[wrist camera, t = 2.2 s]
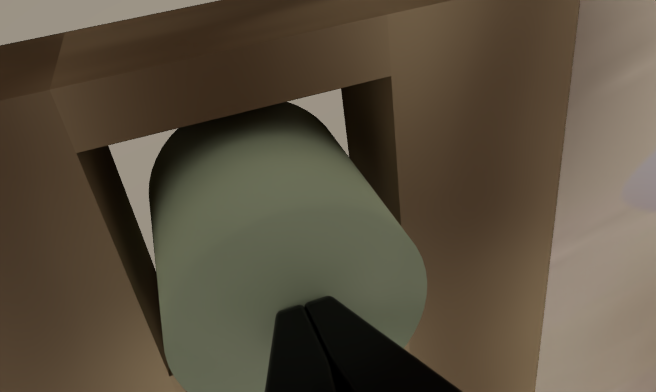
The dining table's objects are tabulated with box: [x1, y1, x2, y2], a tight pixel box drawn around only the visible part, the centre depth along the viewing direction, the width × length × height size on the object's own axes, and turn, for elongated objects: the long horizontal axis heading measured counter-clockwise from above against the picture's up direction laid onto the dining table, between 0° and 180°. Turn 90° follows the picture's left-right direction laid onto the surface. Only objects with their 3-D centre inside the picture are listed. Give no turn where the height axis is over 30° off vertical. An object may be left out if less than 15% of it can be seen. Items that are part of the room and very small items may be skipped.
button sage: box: [149, 102, 427, 392], centre depth 10 cm, size 4×4×4 cm
